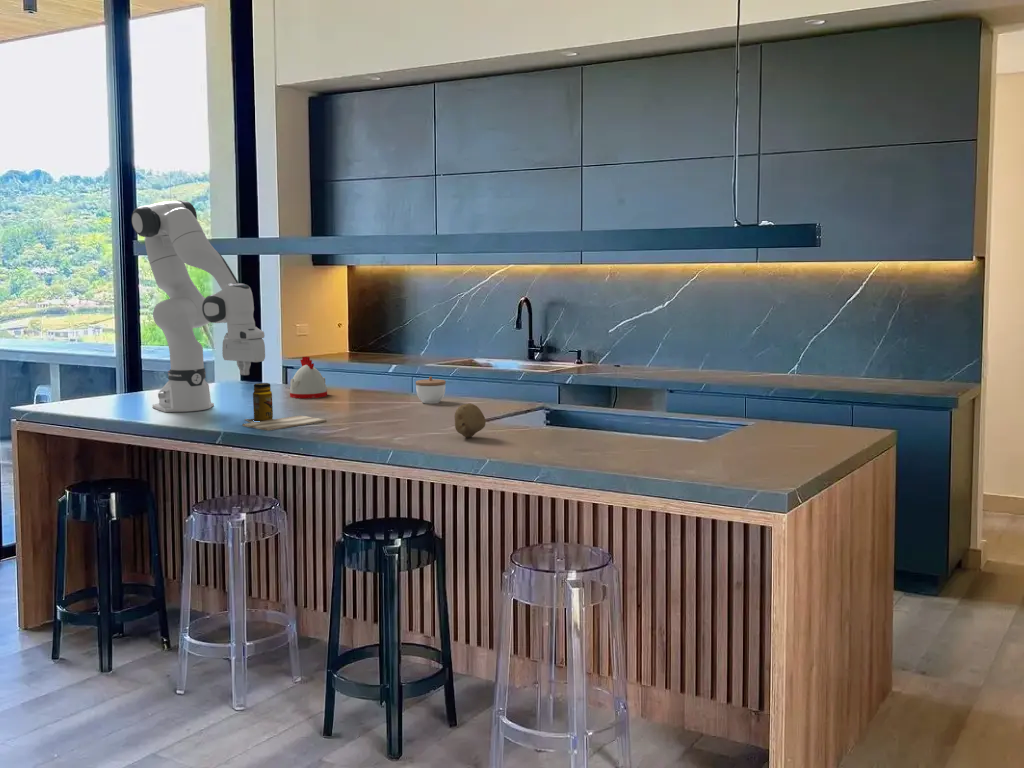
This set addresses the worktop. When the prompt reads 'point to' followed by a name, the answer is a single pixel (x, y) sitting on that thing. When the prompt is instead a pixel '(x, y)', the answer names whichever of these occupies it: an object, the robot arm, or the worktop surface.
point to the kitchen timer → (308, 381)
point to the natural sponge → (469, 420)
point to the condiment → (262, 403)
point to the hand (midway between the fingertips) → (244, 374)
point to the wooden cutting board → (284, 422)
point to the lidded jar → (430, 390)
